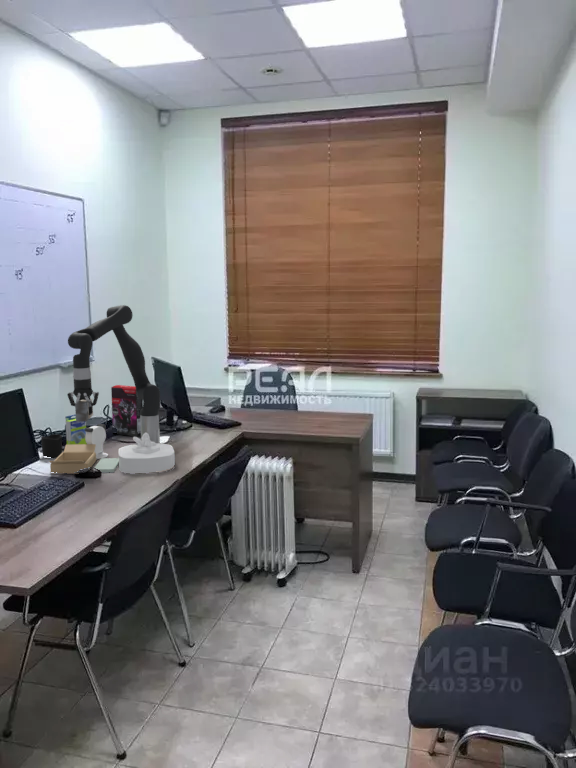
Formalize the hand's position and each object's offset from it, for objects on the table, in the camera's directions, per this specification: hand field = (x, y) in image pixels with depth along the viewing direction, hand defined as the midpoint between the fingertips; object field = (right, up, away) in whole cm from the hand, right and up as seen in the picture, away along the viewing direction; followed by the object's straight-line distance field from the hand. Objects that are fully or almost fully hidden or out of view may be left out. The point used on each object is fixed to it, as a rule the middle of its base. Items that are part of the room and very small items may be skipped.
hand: (84, 414), depth 286 cm
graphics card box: (+3, -15, +67) cm, 68 cm away
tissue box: (+27, -25, +8) cm, 37 cm away
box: (-16, -19, +36) cm, 44 cm away
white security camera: (-1, -22, +23) cm, 31 cm away
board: (+9, -24, +5) cm, 26 cm away
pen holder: (-22, -22, +21) cm, 38 cm away
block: (0, -2, +1) cm, 2 cm away
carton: (-6, -24, +3) cm, 25 cm away
